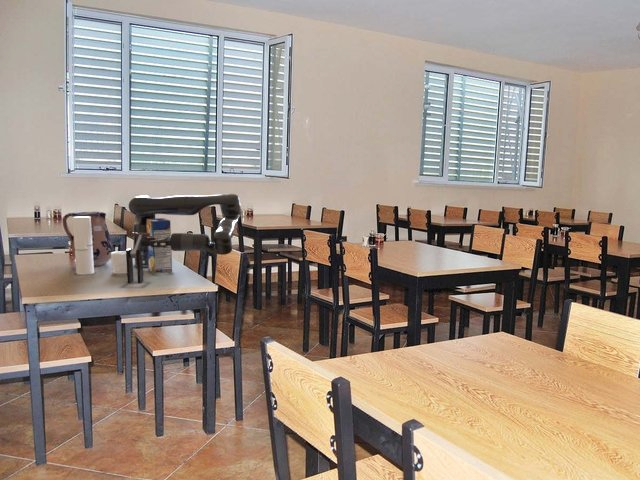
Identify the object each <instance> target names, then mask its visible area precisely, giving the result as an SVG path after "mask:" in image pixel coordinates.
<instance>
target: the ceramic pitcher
mask: <svg viewBox="0 0 640 480" xmlns="http://www.w3.org/2000/svg"><path fill="white" fill-rule="evenodd" d="M106 215H107V213H106V212H103V211H102V212H100V211H83V212H82V211H81V212H67V213H66V214H65V215H64V216H63V218H62V227H63V229H64V231H65V234H66V235H67V237H68V238H69V240H70V248H71V251H72V256H73V258H74V259H75V245H74V235H73V234H72V232H71V231H70V228H69V226H68V222H67V220H68V218H70V217H72V218H73V217H78V216H89V217H91V229H92V245H93V262H94V267H100V266H103V265H106V264H107V263H108V262H110V260H111V253H112V252H114V244H113V241H112V238H111V237H112V236H111V235H110V231H109V228H108V225H107V221H106Z"/></svg>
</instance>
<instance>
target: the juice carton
mask: <svg viewBox="0 0 640 480" xmlns="http://www.w3.org/2000/svg"><path fill="white" fill-rule="evenodd" d="M146 222H147V233H150V237H147V238H158V237H159V238H160V237H171V235H172V229H171V220H170V219H167V218H165V217H162V218H161V217H160V218H159V217H158V218H157V217H155V219H146ZM155 244H156V243H154V245H155ZM172 253H173V250H172V249H171V246H167V247H151V246H148V265H149V267H148V272H153V273H154V274H157V273H158V274H159V273H170V272H171V273H172V272H173V254H172Z"/></svg>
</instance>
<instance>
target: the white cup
mask: <svg viewBox="0 0 640 480" xmlns="http://www.w3.org/2000/svg"><path fill="white" fill-rule="evenodd" d="M110 260H111V261H110V262H111V269H112V273H113V274H117V275H118V274H119V275H120V274H122V275H123V274H127V262H126V250H124V251H123V250H122V251H121V250H120V251H113V252H112V253H111V259H110Z"/></svg>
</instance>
